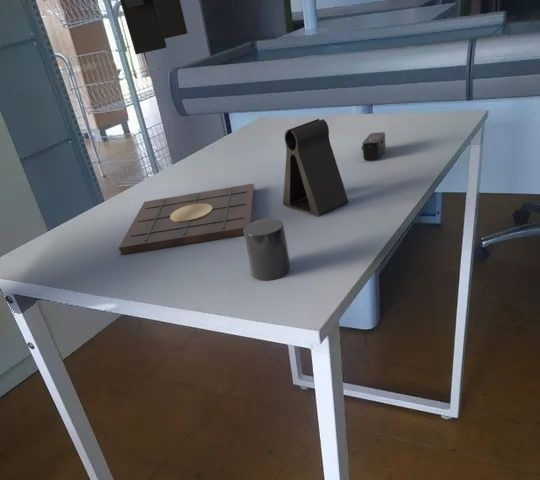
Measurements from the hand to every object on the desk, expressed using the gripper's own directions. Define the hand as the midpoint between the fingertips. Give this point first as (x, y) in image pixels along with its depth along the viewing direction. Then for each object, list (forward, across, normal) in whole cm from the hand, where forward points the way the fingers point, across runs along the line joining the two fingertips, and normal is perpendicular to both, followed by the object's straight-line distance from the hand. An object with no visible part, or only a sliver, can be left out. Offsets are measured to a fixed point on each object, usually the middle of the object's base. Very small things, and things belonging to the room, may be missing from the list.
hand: (164, 43), depth 53 cm
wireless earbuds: (+27, +44, -24) cm, 57 cm away
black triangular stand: (+27, +23, -12) cm, 38 cm away
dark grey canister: (+27, +2, -6) cm, 28 cm away
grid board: (+26, +25, +8) cm, 37 cm away
